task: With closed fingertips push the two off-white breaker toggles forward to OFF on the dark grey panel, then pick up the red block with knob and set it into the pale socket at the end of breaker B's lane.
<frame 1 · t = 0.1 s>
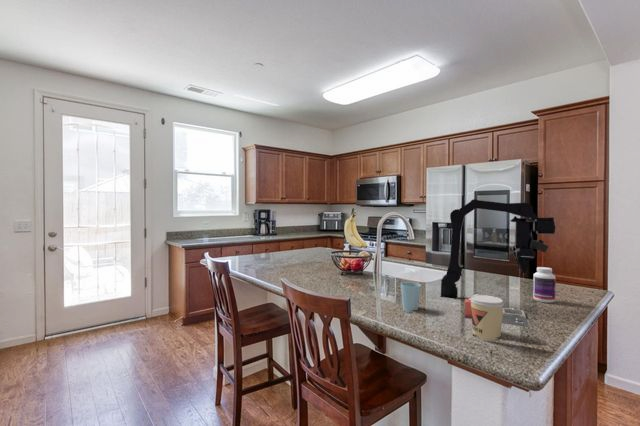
hand: (522, 271, 134), 15 cm above the counter, fingers open, 9 cm apart
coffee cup: (486, 337, 102), on the counter
pill bottle: (543, 301, 142), on the counter
breaker a: (479, 299, 130), point 4 cm above the counter, slide at 0.0 cm
panel: (493, 316, 121), on the counter
cup: (410, 311, 127), on the counter
breaker b: (480, 303, 125), point 4 cm above the counter, slide at 0.0 cm
red block with knob: (471, 314, 120), point 1 cm above the counter, touching panel
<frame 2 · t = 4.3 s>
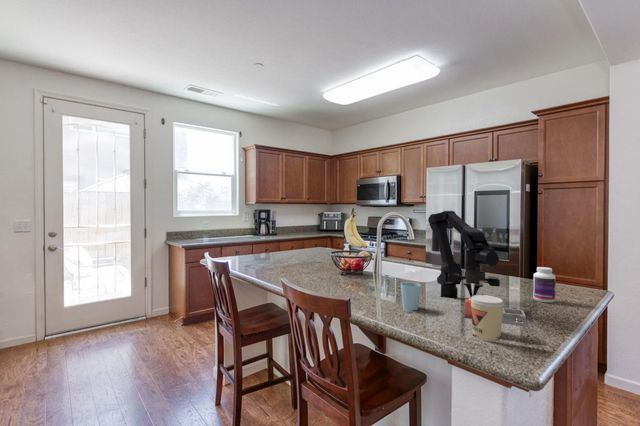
hand: (472, 300, 131), 3 cm above the counter, fingers closed
breaker a: (482, 299, 130), point 4 cm above the counter, slide at 0.8 cm, touching gripper
everything else where it was.
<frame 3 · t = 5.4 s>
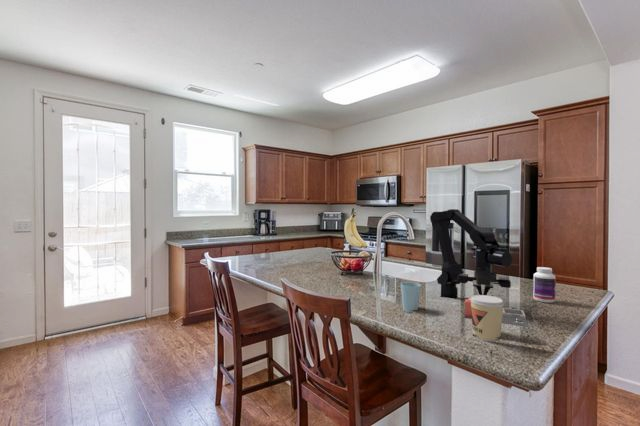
hand: (482, 301, 130), 3 cm above the counter, fingers closed
breaker a: (492, 301, 128), point 4 cm above the counter, slide at 4.4 cm, touching gripper
everything else where it was.
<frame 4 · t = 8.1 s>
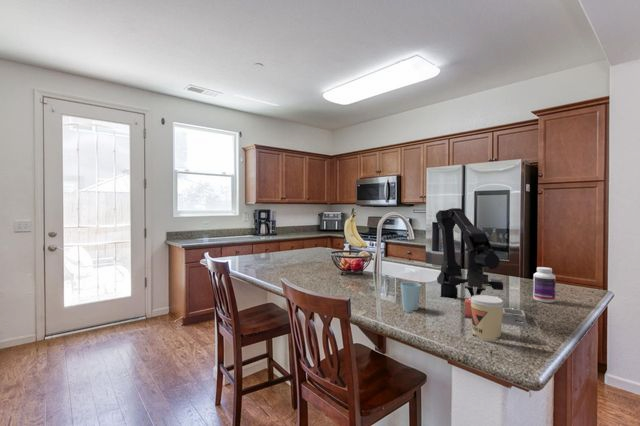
hand: (474, 304, 126), 3 cm above the counter, fingers closed
breaker a: (492, 301, 128), point 4 cm above the counter, slide at 4.4 cm
breaker b: (484, 303, 124), point 4 cm above the counter, slide at 1.6 cm, touching gripper
everything else where it was.
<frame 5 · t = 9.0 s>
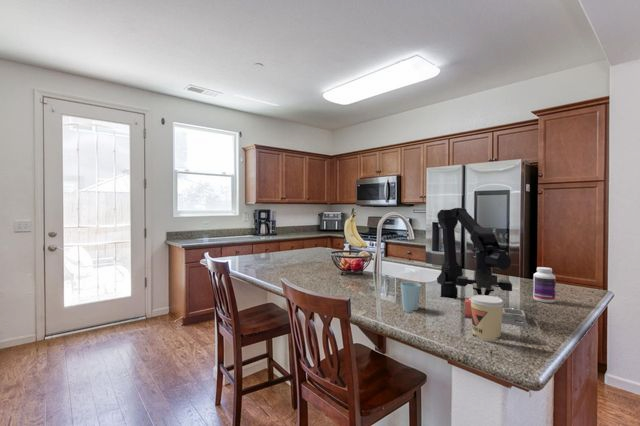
hand: (482, 305, 125), 3 cm above the counter, fingers closed
breaker b: (493, 304, 123), point 4 cm above the counter, slide at 4.4 cm, touching gripper
everything else where it was.
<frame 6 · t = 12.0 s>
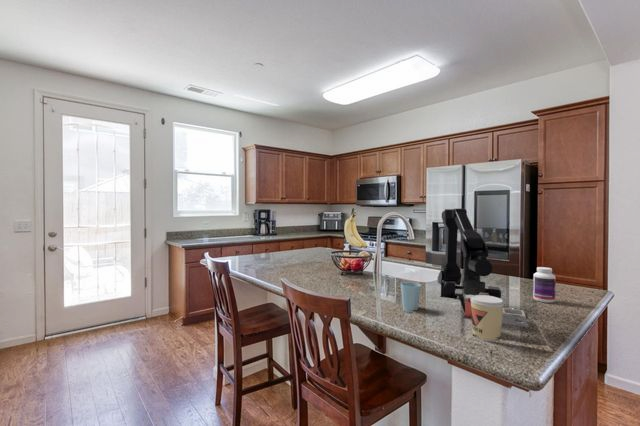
hand: (471, 312, 120), 2 cm above the counter, fingers closed on red block with knob, 4 cm apart
breaker b: (493, 304, 123), point 4 cm above the counter, slide at 4.4 cm
red block with knob: (471, 314, 120), point 1 cm above the counter, touching gripper, panel
everything else where it was.
when the fingers open (3 cm above the counter, at t = 15.6 s): red block with knob drops 1 cm, resting on panel.
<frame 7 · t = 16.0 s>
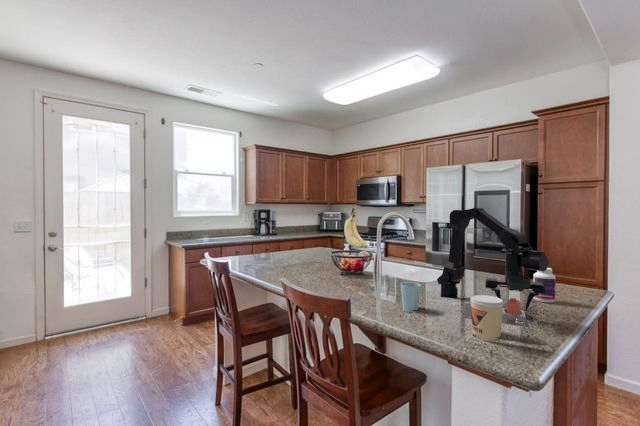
hand: (513, 308, 120), 3 cm above the counter, fingers open, 8 cm apart
breaker b: (491, 304, 123), point 4 cm above the counter, slide at 3.8 cm, touching gripper
red block with knob: (513, 314, 120), point 1 cm above the counter, touching panel
everything else where it was.
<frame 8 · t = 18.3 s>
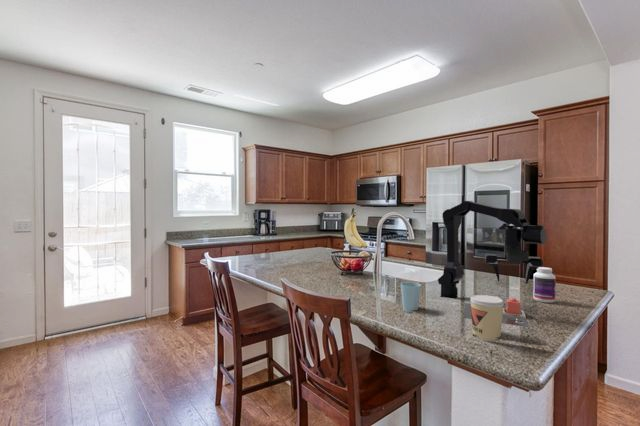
hand: (512, 282, 125), 12 cm above the counter, fingers open, 9 cm apart
breaker b: (489, 304, 124), point 4 cm above the counter, slide at 3.3 cm
everything else where it was.
at the end: breaker a slide at 4.4 cm; breaker b slide at 3.3 cm; red block with knob 0.1 cm from the target spot on the panel, point 1.2 cm above the panel's base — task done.
